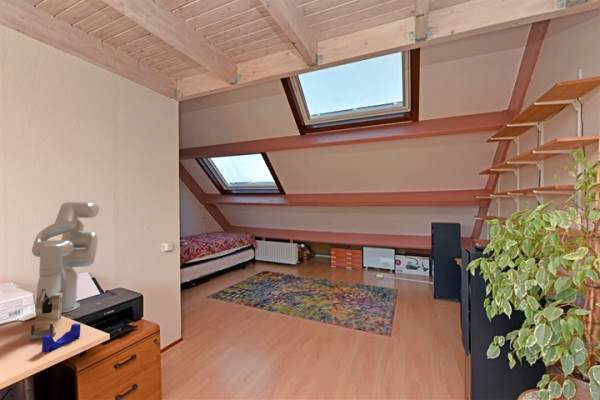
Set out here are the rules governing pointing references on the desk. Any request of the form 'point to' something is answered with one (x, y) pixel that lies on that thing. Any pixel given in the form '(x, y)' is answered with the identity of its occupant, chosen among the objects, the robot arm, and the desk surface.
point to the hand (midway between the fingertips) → (49, 310)
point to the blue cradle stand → (60, 339)
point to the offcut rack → (41, 332)
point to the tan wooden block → (56, 310)
